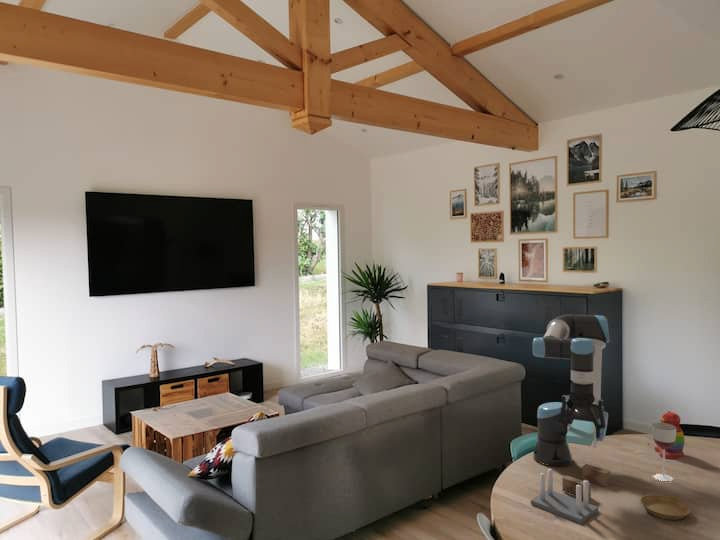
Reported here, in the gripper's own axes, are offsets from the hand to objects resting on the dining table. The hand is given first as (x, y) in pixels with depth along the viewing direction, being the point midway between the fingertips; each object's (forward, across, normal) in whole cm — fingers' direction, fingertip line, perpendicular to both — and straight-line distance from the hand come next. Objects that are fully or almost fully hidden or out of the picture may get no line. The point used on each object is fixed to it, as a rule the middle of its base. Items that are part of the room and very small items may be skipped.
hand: (581, 444), depth 195 cm
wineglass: (+17, +26, +27) cm, 41 cm away
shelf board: (-3, 0, 0) cm, 3 cm away
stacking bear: (+17, +29, +54) cm, 64 cm away
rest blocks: (+18, +1, +5) cm, 18 cm away
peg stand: (+18, -4, -14) cm, 23 cm away
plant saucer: (+18, +26, -2) cm, 32 cm away
